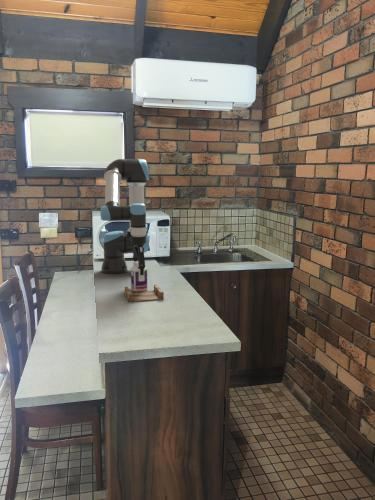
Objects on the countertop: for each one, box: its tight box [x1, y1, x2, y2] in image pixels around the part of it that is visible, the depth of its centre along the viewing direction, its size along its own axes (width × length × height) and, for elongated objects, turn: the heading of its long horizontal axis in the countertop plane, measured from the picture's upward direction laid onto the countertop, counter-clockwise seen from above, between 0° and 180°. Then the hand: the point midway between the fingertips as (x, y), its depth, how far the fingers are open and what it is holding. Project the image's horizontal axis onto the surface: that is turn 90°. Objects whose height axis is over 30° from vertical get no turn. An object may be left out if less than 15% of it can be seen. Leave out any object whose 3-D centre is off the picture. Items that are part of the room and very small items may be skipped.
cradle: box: [124, 284, 165, 303], centre depth 202 cm, size 14×16×4 cm
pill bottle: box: [130, 260, 148, 292], centre depth 211 cm, size 8×8×14 cm
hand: (139, 277), depth 212 cm, fingers open, 13 cm apart
